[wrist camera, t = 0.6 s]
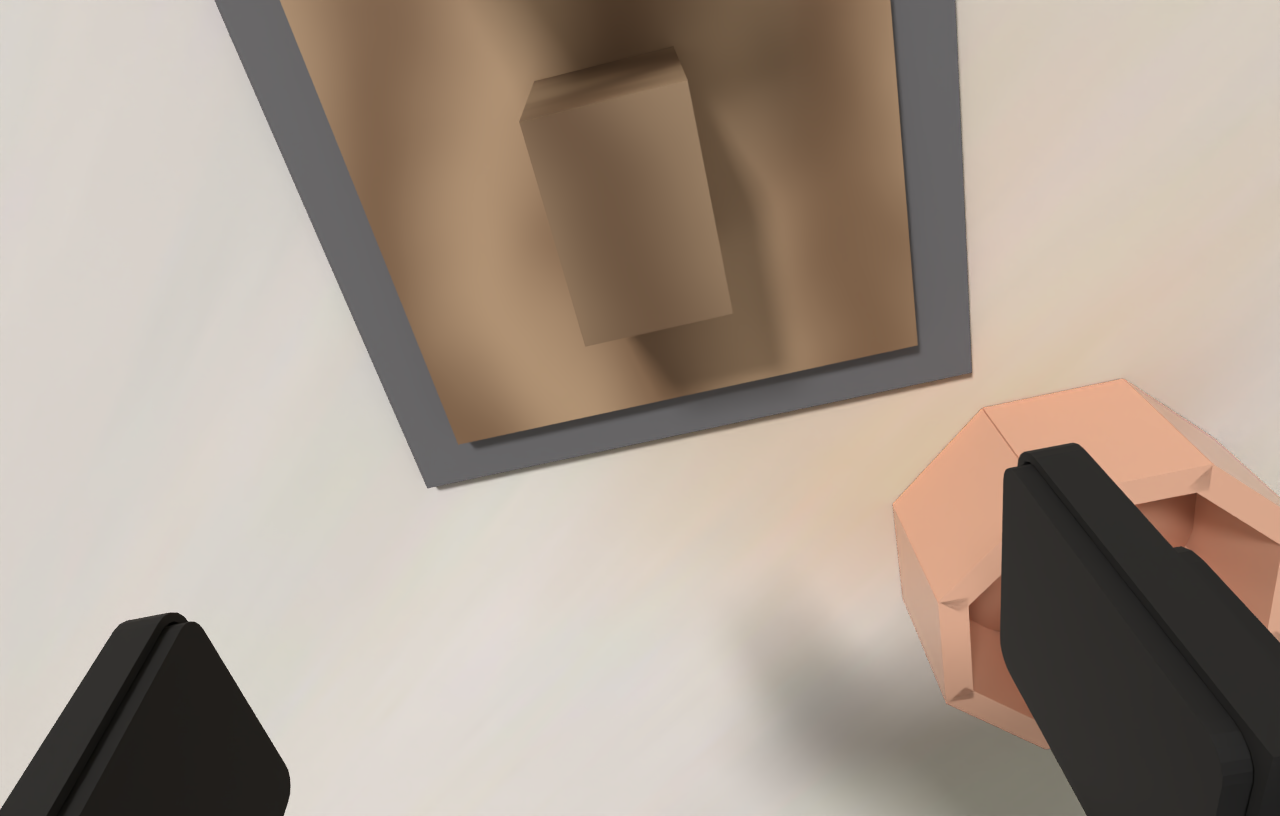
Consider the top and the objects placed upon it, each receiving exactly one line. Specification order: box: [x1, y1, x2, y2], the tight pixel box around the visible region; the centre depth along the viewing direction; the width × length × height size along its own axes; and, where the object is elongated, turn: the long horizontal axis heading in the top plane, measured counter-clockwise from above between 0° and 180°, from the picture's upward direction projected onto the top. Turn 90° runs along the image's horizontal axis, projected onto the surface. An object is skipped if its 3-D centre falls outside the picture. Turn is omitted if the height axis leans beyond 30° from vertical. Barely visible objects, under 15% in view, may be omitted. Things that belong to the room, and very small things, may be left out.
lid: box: [280, 0, 918, 445], centre depth 24 cm, size 16×16×6 cm
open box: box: [893, 379, 1280, 749], centre depth 33 cm, size 12×12×6 cm
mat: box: [215, 0, 972, 488], centre depth 27 cm, size 20×20×1 cm
